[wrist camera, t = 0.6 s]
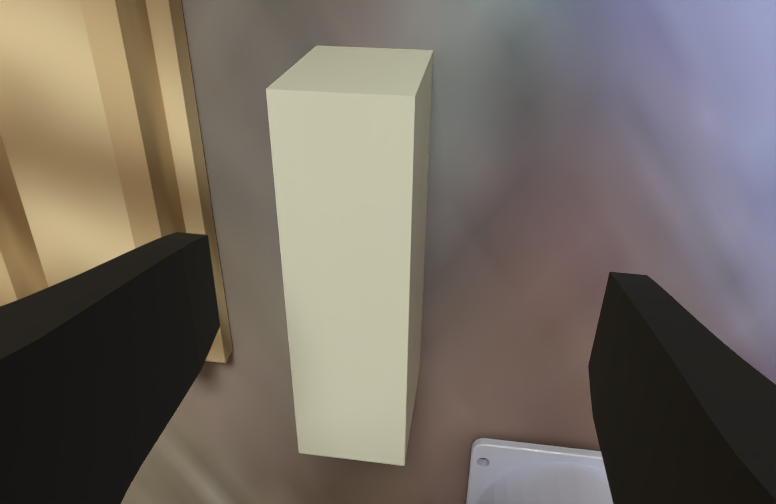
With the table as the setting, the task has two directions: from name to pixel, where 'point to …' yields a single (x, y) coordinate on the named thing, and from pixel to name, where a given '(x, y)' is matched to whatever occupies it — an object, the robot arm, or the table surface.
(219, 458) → the table surface
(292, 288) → the cream rectangular block
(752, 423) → the robot arm
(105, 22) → the tan flat piece
